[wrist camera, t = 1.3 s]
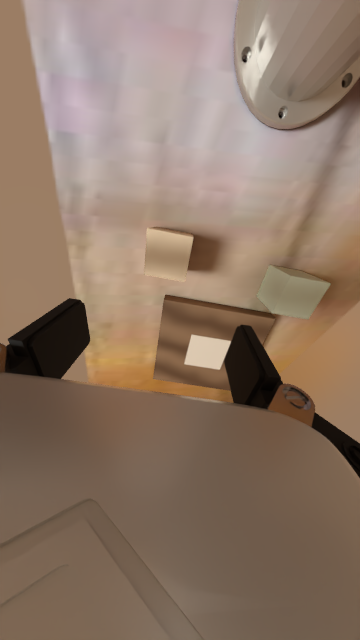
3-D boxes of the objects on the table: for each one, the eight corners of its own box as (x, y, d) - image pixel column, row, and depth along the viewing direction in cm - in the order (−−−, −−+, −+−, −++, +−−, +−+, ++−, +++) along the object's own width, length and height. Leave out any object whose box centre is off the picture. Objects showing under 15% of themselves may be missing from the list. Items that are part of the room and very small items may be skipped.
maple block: (156, 226, 23) (147, 228, 18) (192, 233, 23) (193, 237, 18) (152, 264, 26) (143, 274, 20) (185, 270, 26) (185, 282, 21)
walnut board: (165, 294, 28) (163, 299, 26) (270, 313, 29) (275, 319, 27) (154, 371, 37) (153, 379, 35) (235, 383, 38) (237, 392, 36)
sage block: (269, 264, 25) (290, 275, 20) (301, 270, 25) (331, 283, 20) (256, 295, 28) (272, 313, 22) (285, 301, 28) (308, 319, 23)
